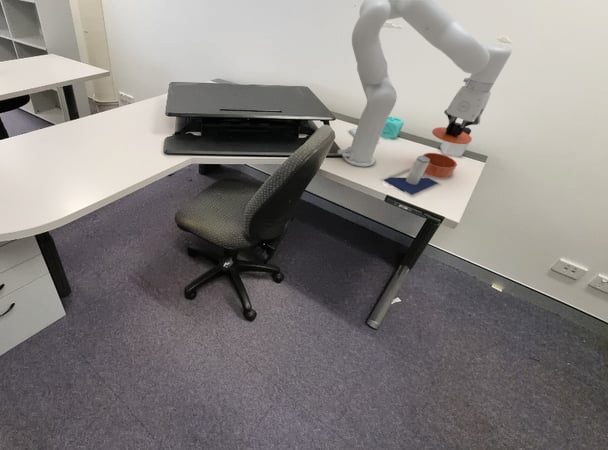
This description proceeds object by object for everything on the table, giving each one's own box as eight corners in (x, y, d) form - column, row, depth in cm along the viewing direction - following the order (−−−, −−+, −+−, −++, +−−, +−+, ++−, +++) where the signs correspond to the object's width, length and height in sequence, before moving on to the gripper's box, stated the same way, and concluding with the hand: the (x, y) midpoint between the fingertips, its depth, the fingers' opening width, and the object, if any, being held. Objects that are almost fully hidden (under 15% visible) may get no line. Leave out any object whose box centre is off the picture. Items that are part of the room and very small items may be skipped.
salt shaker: (408, 184, 127) (420, 161, 121) (403, 178, 131) (414, 155, 124) (420, 184, 127) (433, 161, 121) (414, 178, 131) (426, 155, 124)
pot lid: (443, 145, 123) (450, 131, 119) (424, 129, 133) (431, 116, 129) (478, 145, 123) (486, 131, 119) (457, 130, 133) (464, 116, 129)
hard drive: (350, 128, 162) (362, 140, 153) (365, 128, 163) (378, 139, 154) (349, 131, 163) (361, 143, 154) (364, 131, 164) (377, 142, 155)
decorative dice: (393, 141, 156) (400, 125, 151) (376, 135, 160) (382, 120, 155) (398, 135, 161) (405, 119, 156) (381, 130, 165) (388, 115, 160)
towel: (411, 195, 122) (411, 195, 122) (384, 180, 130) (384, 179, 130) (437, 183, 129) (438, 183, 129) (410, 169, 137) (410, 168, 136)
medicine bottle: (461, 157, 146) (476, 132, 138) (444, 155, 147) (458, 130, 139) (455, 149, 151) (469, 125, 143) (438, 148, 152) (452, 123, 144)
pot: (426, 178, 132) (432, 168, 129) (412, 162, 141) (417, 152, 138) (456, 179, 132) (463, 168, 129) (440, 163, 141) (446, 153, 138)
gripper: (450, 80, 119) (426, 128, 131) (498, 94, 108) (467, 145, 120) (461, 77, 122) (437, 124, 134) (509, 90, 111) (478, 140, 123)
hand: (452, 134), depth 127 cm, fingers closed on pot lid, 2 cm apart
